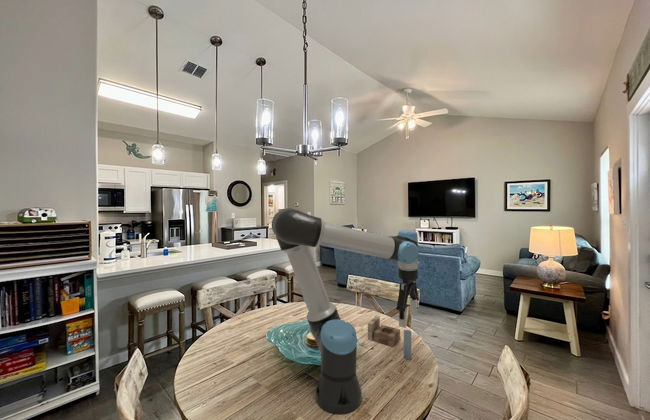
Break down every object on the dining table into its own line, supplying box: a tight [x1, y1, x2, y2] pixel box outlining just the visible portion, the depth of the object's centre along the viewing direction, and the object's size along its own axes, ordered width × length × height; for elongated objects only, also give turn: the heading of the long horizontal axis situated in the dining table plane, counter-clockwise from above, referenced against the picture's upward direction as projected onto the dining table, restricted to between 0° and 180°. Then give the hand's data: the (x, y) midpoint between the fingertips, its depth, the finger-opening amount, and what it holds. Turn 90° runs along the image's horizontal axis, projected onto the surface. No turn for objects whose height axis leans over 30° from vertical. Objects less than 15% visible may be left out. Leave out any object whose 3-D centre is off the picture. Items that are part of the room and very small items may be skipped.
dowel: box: [403, 329, 412, 361], centre depth 112 cm, size 3×3×12 cm
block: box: [373, 324, 401, 348], centre depth 127 cm, size 9×9×4 cm
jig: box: [367, 316, 381, 342], centre depth 127 cm, size 9×16×9 cm, turn 56°
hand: (408, 320), depth 112 cm, fingers open, 13 cm apart
